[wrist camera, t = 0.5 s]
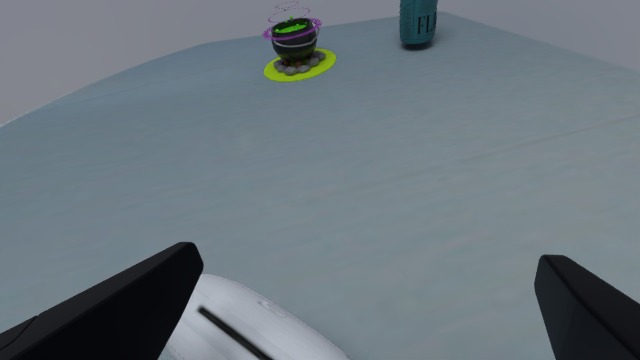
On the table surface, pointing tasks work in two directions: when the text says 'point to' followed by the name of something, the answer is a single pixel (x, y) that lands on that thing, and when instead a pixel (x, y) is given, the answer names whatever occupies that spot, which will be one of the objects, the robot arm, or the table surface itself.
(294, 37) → the toy cauldron
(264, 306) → the photo printer
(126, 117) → the table surface
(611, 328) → the robot arm
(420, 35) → the beverage bottle
